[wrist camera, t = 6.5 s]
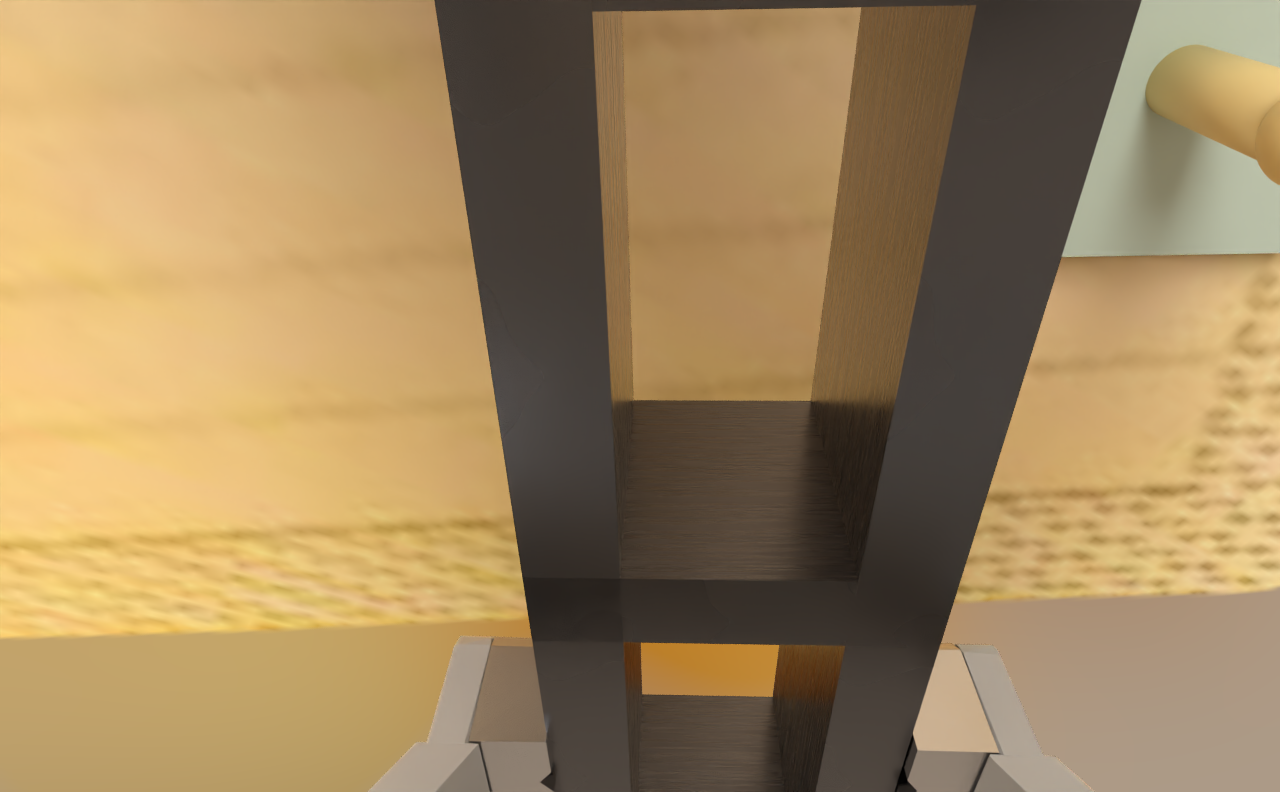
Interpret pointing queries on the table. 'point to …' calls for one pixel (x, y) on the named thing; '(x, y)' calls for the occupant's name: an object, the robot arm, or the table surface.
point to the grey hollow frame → (768, 430)
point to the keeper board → (1189, 137)
